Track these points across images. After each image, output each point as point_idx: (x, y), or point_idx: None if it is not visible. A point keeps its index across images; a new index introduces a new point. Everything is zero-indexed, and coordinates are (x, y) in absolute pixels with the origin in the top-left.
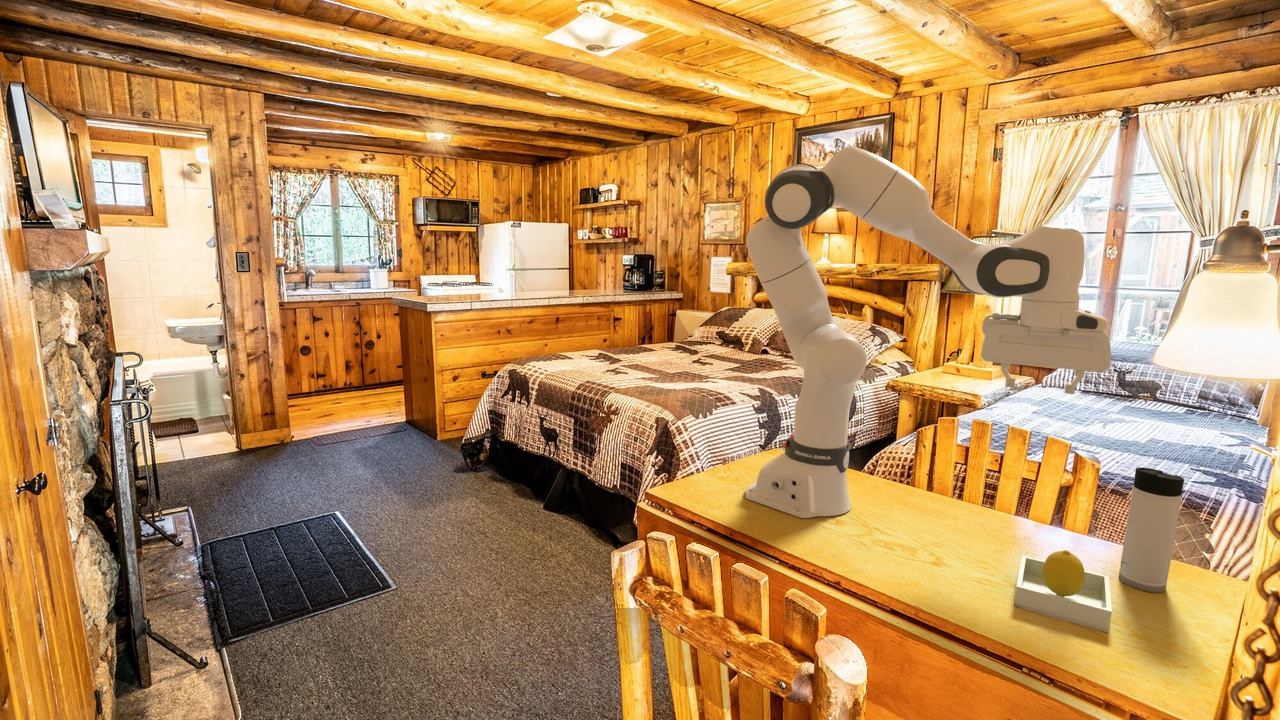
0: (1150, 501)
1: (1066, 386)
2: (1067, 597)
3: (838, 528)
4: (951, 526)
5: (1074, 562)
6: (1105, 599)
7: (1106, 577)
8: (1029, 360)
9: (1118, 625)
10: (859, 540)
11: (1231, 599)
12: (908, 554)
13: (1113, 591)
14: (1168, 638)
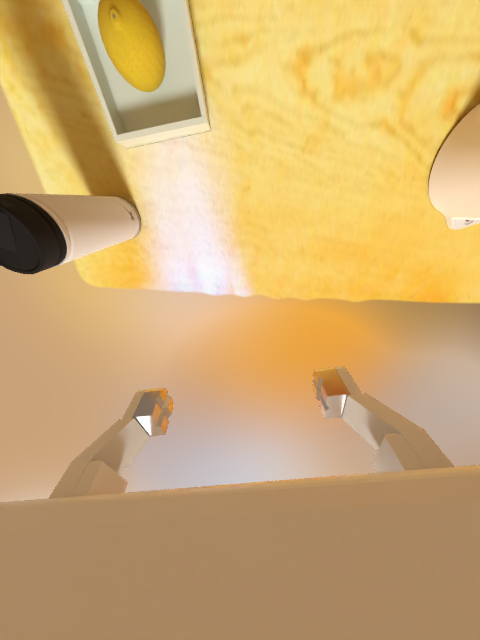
0: (27, 194)
1: (152, 408)
2: None
3: (453, 74)
4: (302, 223)
5: (100, 3)
6: (84, 41)
7: (115, 134)
8: (312, 524)
9: None
10: (420, 47)
11: None
12: (344, 59)
13: (128, 170)
14: (38, 65)
